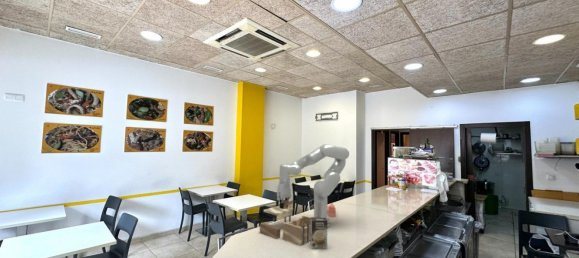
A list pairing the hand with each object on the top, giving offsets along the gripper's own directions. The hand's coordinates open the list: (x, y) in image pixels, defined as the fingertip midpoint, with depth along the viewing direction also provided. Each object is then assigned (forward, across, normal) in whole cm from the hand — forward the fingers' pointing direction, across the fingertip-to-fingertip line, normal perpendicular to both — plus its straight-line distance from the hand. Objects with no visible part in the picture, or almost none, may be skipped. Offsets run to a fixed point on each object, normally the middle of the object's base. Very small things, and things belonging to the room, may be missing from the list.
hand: (283, 207), depth 172 cm
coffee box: (+13, +12, +38) cm, 42 cm away
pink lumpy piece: (+13, -49, +8) cm, 51 cm away
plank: (+13, +18, +5) cm, 23 cm away
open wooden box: (+13, +7, +22) cm, 27 cm away
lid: (+2, +6, 0) cm, 6 cm away
